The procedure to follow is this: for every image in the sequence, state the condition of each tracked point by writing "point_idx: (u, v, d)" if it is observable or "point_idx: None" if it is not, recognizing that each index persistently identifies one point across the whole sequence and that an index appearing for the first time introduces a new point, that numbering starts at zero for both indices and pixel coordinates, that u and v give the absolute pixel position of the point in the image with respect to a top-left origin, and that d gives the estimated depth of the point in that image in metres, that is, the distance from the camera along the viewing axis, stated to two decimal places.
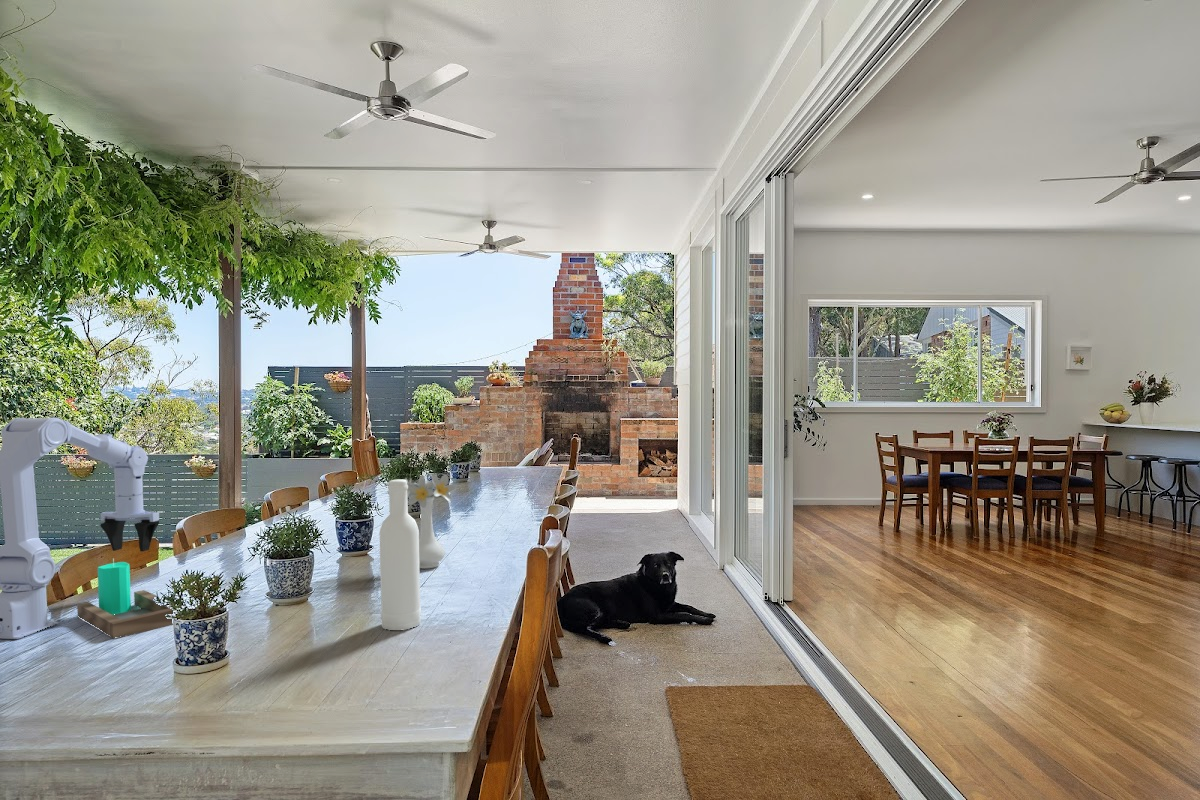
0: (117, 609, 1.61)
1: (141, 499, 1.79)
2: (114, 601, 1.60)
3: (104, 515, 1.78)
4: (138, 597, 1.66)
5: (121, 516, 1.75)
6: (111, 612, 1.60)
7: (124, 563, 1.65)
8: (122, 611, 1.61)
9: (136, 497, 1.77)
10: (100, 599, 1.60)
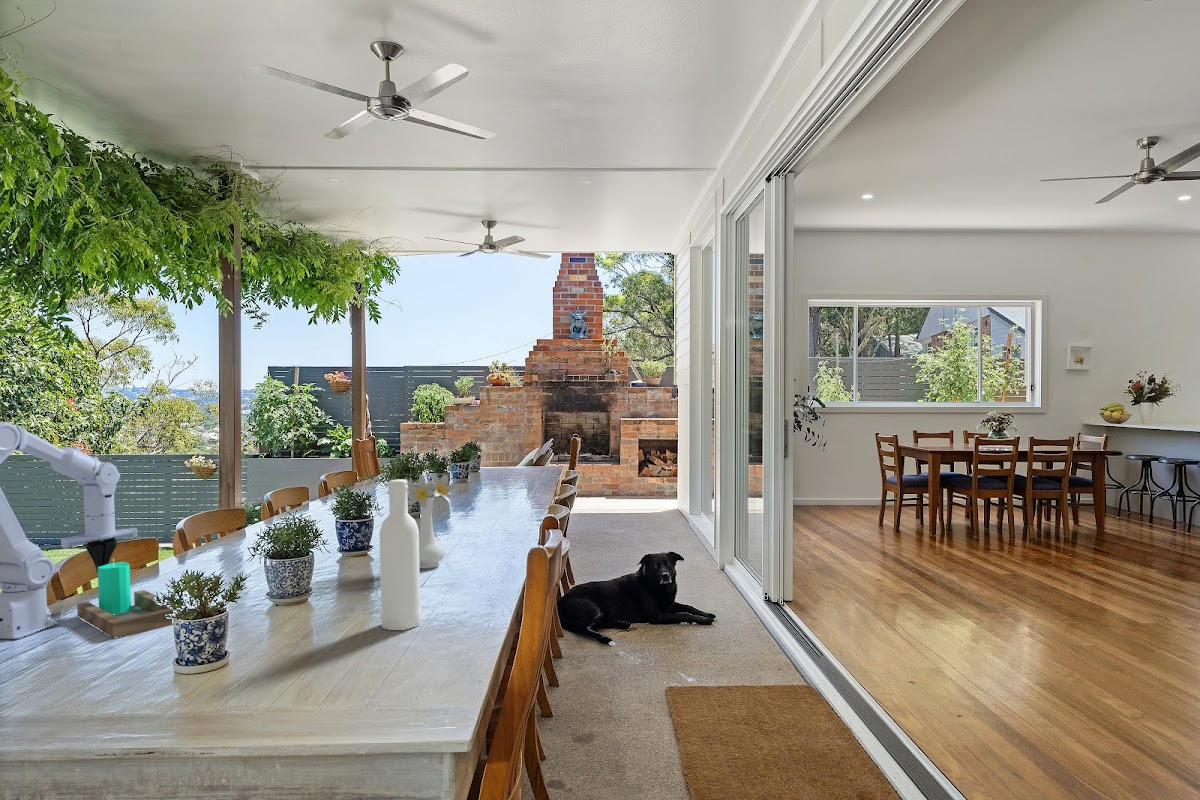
0: (117, 609, 1.61)
1: (86, 521, 1.65)
2: (114, 601, 1.60)
3: None
4: (138, 597, 1.66)
5: None
6: (111, 612, 1.60)
7: (124, 563, 1.65)
8: (122, 611, 1.61)
9: None
10: (100, 599, 1.60)
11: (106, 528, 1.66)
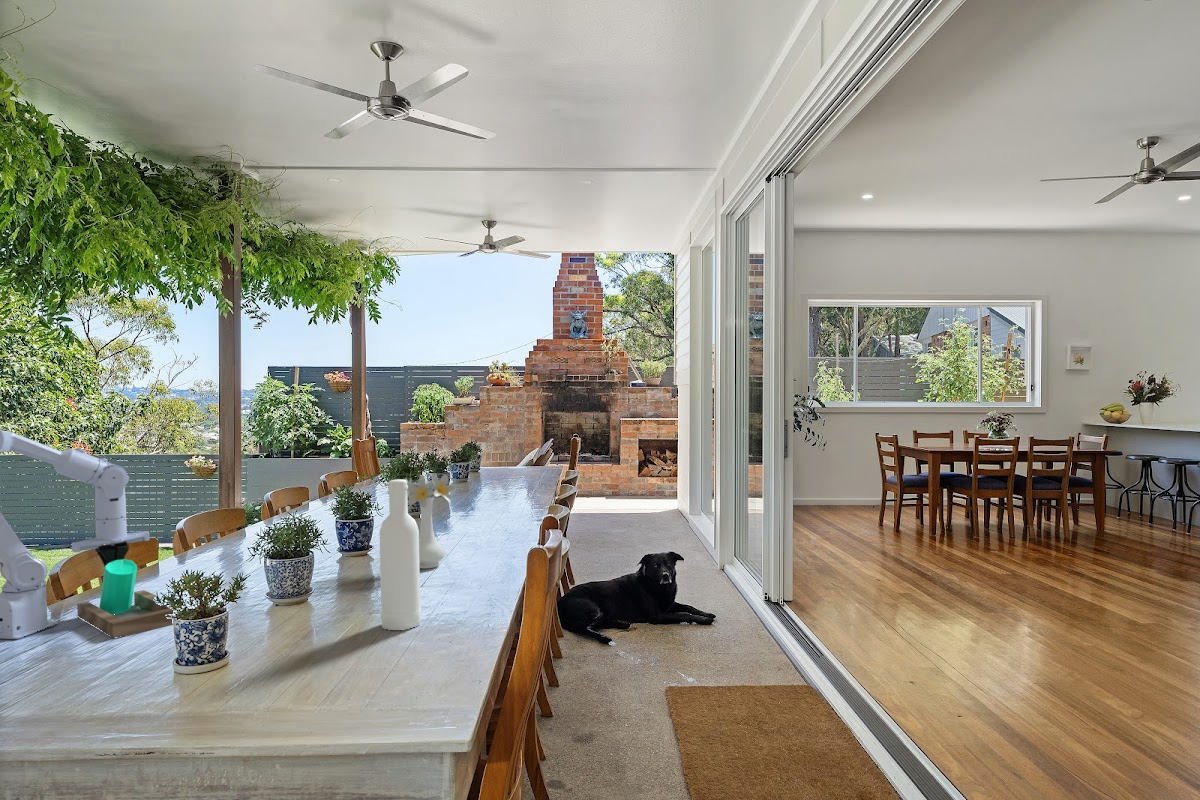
0: (118, 610, 1.60)
1: (98, 525, 1.60)
2: (116, 603, 1.60)
3: None
4: (138, 597, 1.66)
5: None
6: (112, 612, 1.60)
7: (132, 563, 1.62)
8: (122, 611, 1.61)
9: None
10: (103, 597, 1.59)
11: (118, 532, 1.61)
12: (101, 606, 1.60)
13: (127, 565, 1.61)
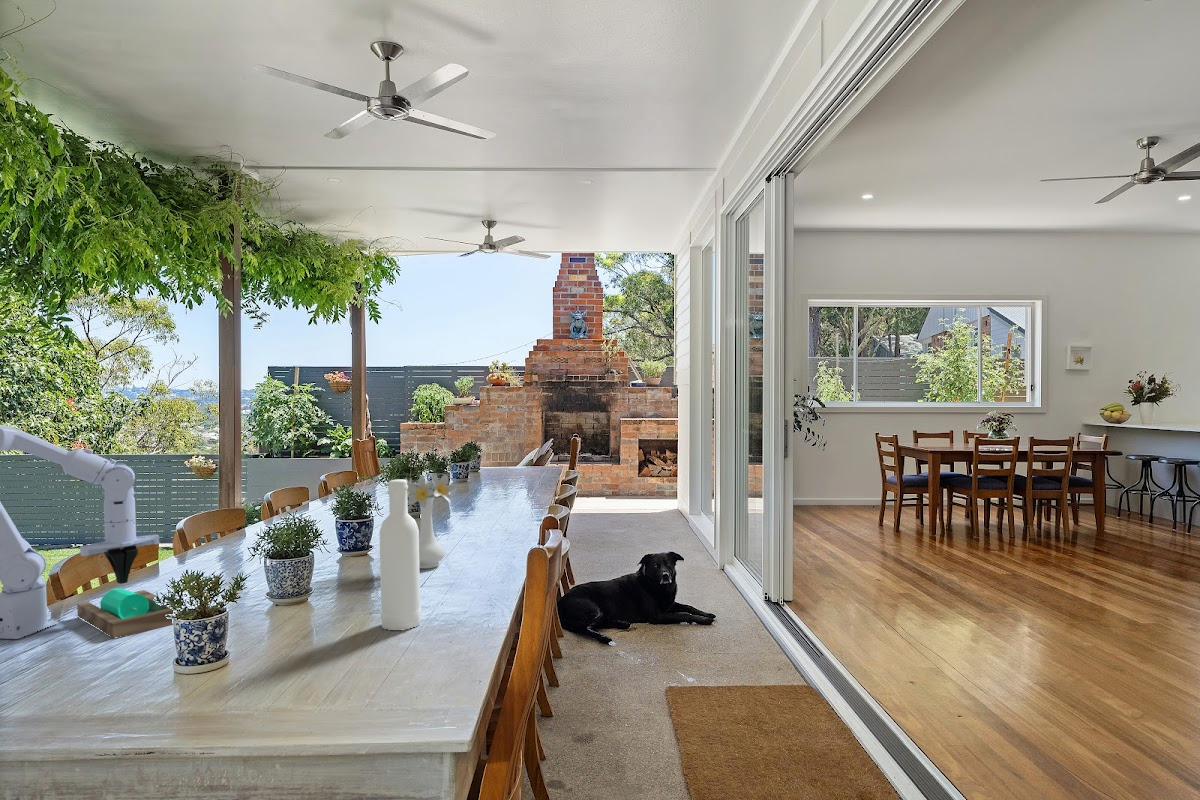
0: None
1: (107, 528, 1.57)
2: None
3: None
4: None
5: None
6: None
7: (144, 599, 1.56)
8: None
9: (104, 524, 1.58)
10: None
11: (127, 535, 1.58)
12: None
13: (139, 601, 1.55)
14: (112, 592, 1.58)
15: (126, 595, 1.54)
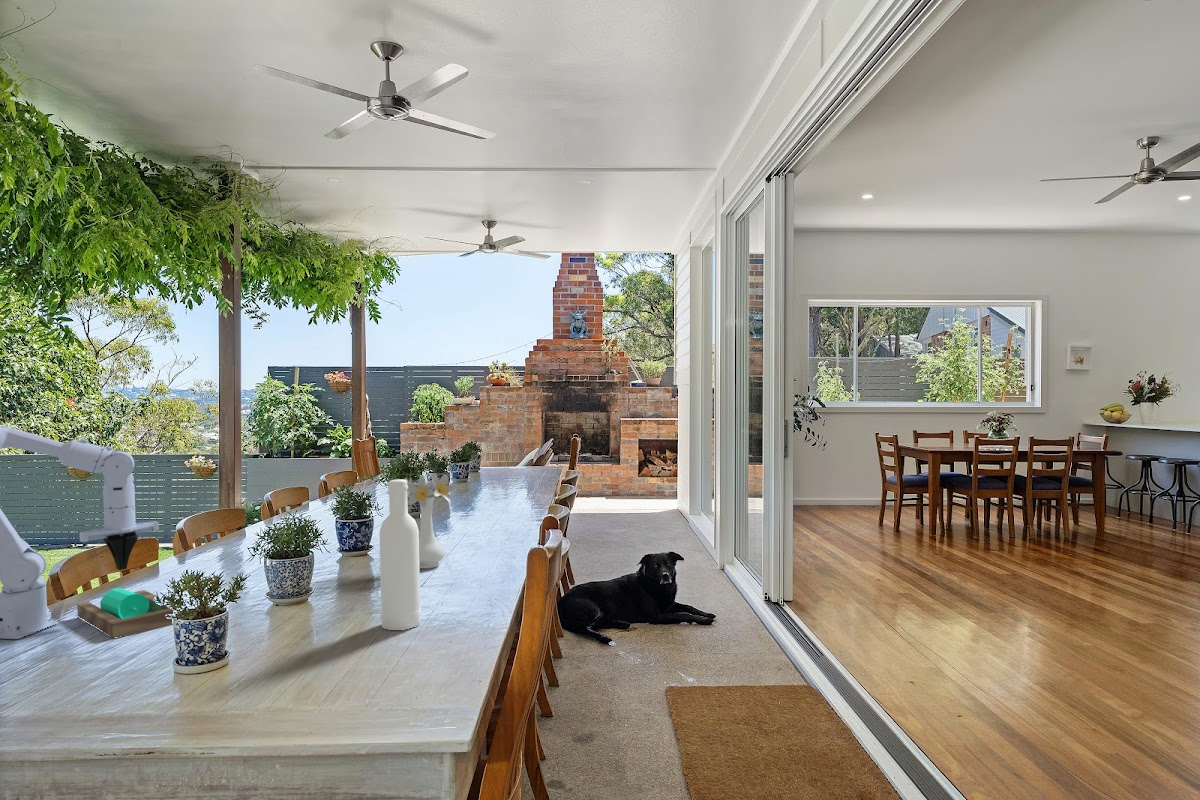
0: None
1: (106, 514, 1.57)
2: None
3: None
4: None
5: None
6: None
7: (144, 599, 1.56)
8: None
9: None
10: None
11: (126, 521, 1.58)
12: None
13: (139, 601, 1.55)
14: (112, 592, 1.58)
15: (126, 595, 1.54)
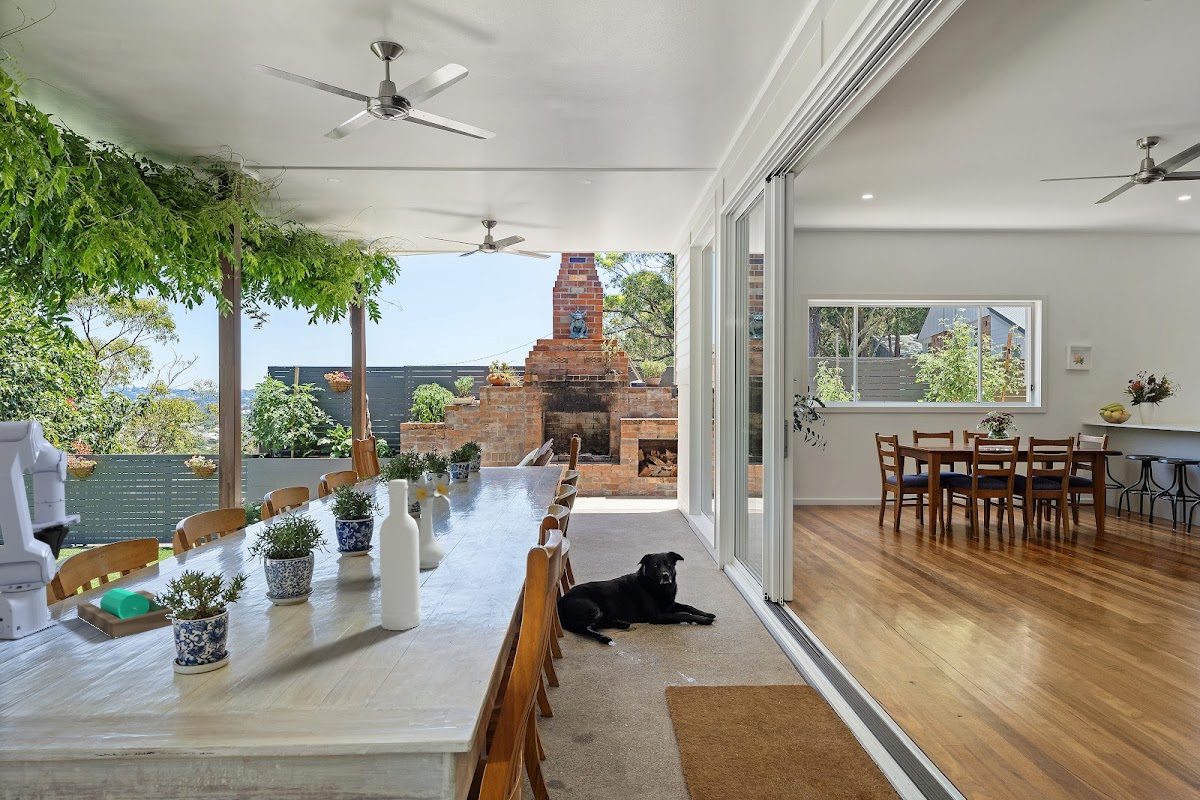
0: None
1: (42, 508, 1.65)
2: None
3: None
4: None
5: None
6: None
7: (144, 599, 1.56)
8: None
9: (35, 505, 1.66)
10: None
11: (62, 514, 1.68)
12: None
13: (139, 601, 1.55)
14: (112, 592, 1.58)
15: (126, 595, 1.54)
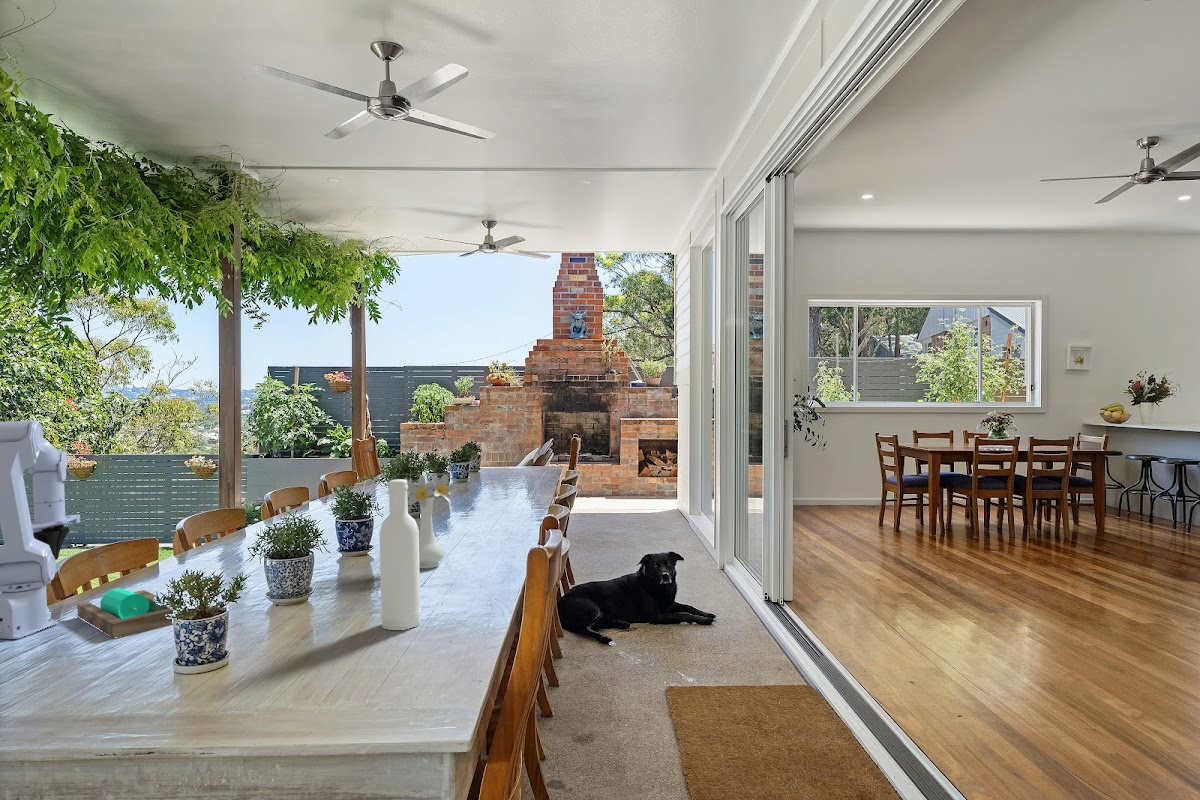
0: None
1: (41, 508, 1.65)
2: None
3: None
4: None
5: None
6: None
7: (144, 599, 1.56)
8: None
9: (35, 505, 1.66)
10: None
11: (62, 514, 1.68)
12: None
13: (139, 601, 1.55)
14: (112, 592, 1.58)
15: (126, 595, 1.54)
